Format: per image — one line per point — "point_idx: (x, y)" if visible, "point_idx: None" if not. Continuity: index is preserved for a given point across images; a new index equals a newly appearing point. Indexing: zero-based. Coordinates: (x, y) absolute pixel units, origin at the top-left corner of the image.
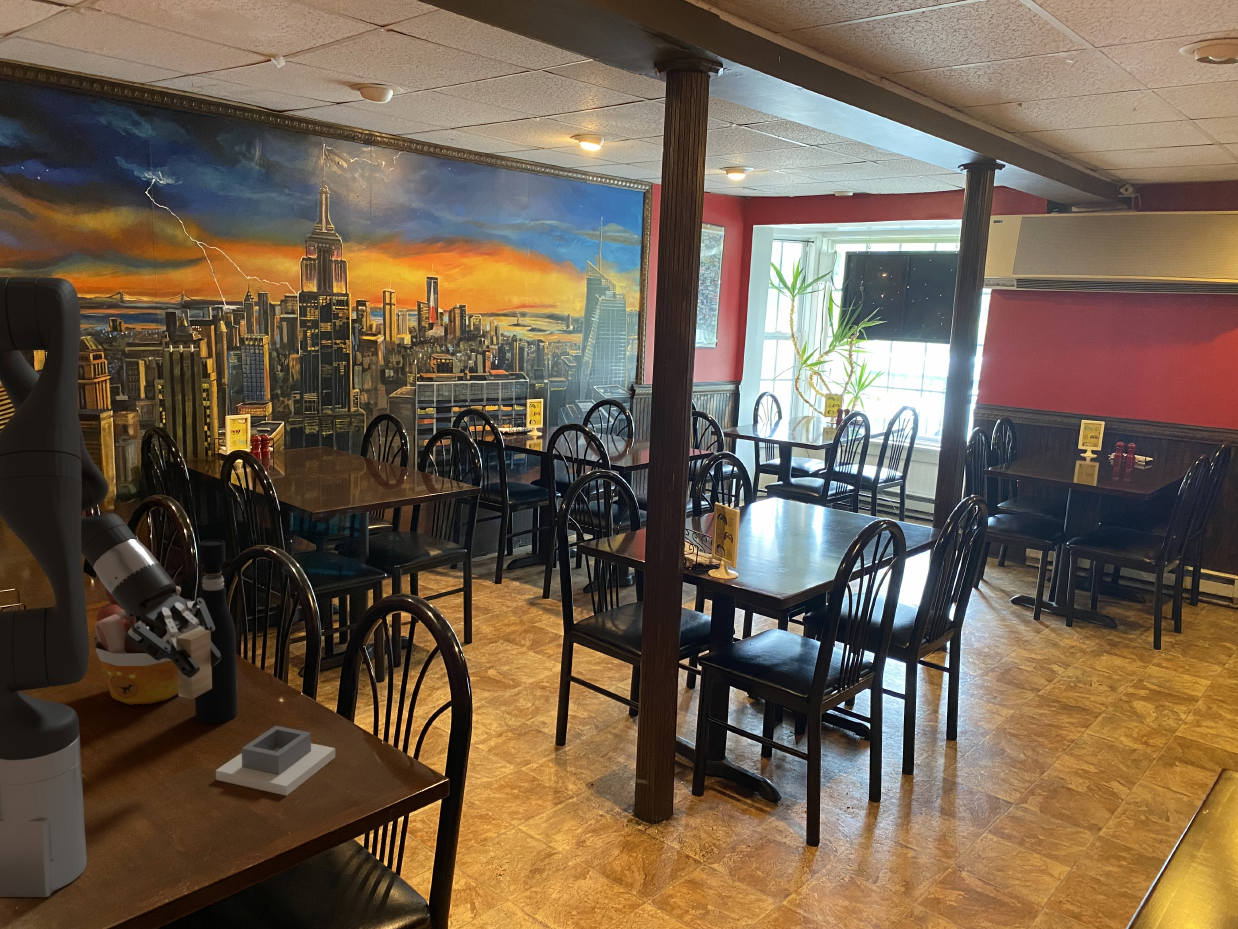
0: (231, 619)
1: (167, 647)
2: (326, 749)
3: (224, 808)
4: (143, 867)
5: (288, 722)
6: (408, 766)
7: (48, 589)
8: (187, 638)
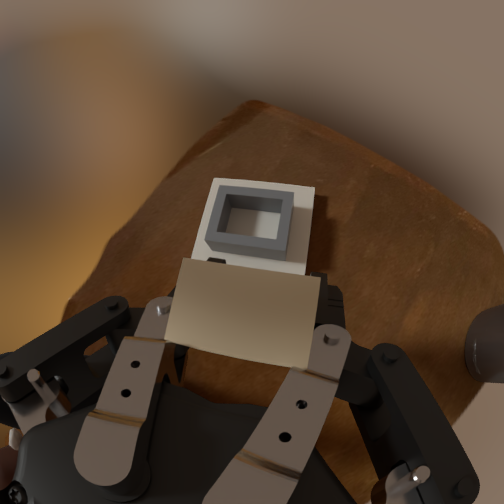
0: (7, 352)
1: (393, 351)
2: (218, 184)
3: (359, 246)
4: (461, 264)
5: (134, 280)
6: (225, 120)
7: None
8: (307, 305)
